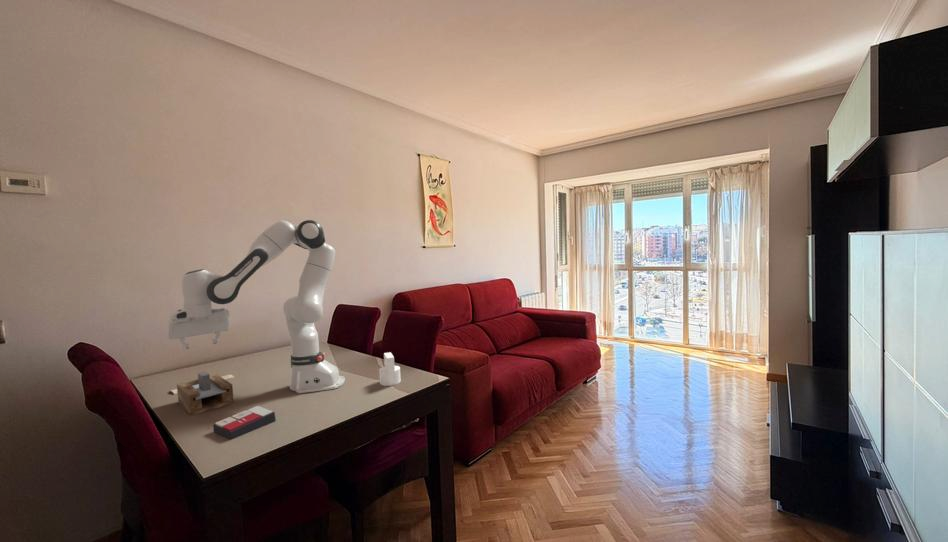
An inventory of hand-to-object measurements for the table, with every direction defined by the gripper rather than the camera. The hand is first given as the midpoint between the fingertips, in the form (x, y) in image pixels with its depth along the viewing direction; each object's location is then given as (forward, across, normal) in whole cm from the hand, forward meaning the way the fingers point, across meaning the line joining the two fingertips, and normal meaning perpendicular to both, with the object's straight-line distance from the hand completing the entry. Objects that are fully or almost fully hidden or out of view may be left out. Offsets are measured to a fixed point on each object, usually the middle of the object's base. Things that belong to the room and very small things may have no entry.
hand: (201, 346), depth 151 cm
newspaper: (+24, -5, -28) cm, 37 cm away
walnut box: (+23, 0, 0) cm, 23 cm away
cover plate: (+18, 0, 0) cm, 18 cm away
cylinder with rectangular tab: (+23, -59, +41) cm, 75 cm away
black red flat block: (+24, -3, +36) cm, 44 cm away
